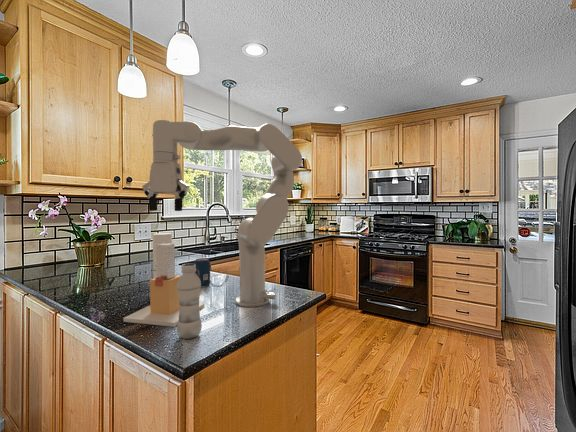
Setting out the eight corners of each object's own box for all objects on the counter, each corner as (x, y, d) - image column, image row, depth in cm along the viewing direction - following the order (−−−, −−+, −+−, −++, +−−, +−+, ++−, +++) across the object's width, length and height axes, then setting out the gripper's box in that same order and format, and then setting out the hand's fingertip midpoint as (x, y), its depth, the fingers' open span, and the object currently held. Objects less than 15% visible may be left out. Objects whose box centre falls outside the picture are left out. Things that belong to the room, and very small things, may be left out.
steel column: (176, 307, 102) (174, 243, 101) (168, 312, 98) (167, 245, 97) (164, 306, 103) (163, 243, 102) (156, 311, 99) (155, 244, 98)
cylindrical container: (166, 298, 117) (165, 234, 116) (149, 297, 119) (148, 234, 118) (176, 293, 124) (175, 233, 123) (161, 292, 126) (159, 232, 125)
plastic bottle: (172, 341, 80) (171, 267, 80) (184, 330, 87) (183, 262, 86) (194, 342, 79) (193, 267, 79) (205, 332, 86) (204, 262, 85)
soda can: (192, 285, 137) (191, 259, 136) (206, 282, 141) (206, 257, 141) (198, 288, 131) (197, 261, 131) (212, 285, 136) (212, 259, 135)
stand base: (204, 306, 108) (203, 270, 107) (174, 326, 90) (173, 283, 89) (160, 303, 112) (159, 268, 111) (123, 321, 94) (122, 280, 93)
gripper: (194, 160, 101) (194, 210, 102) (151, 161, 105) (151, 210, 106) (181, 156, 94) (181, 211, 94) (135, 158, 98) (135, 210, 99)
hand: (165, 210), depth 100 cm, fingers open, 9 cm apart
